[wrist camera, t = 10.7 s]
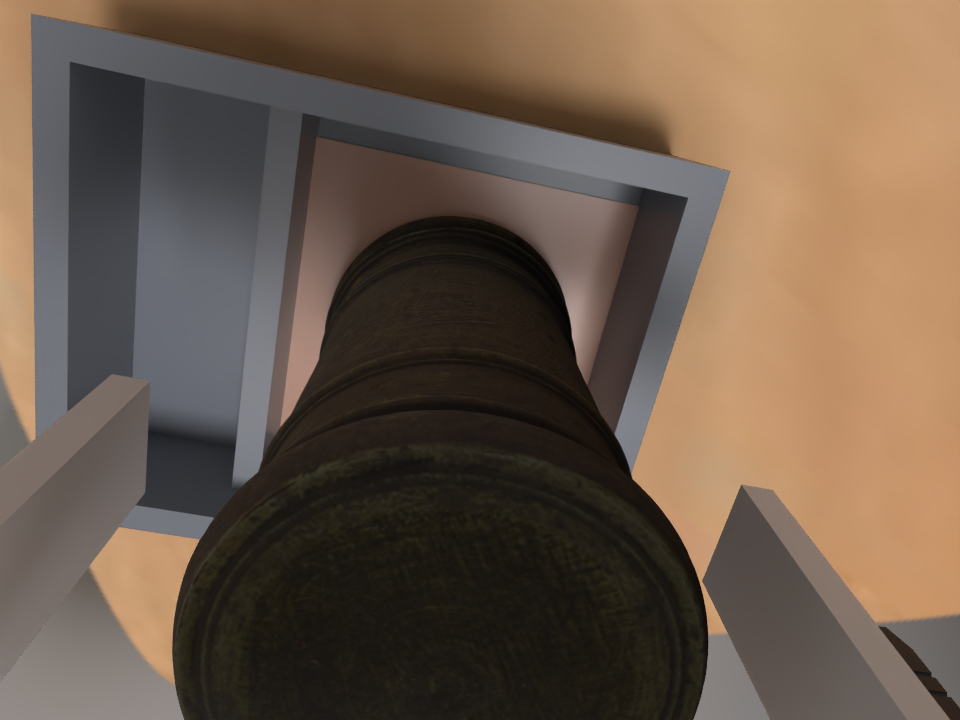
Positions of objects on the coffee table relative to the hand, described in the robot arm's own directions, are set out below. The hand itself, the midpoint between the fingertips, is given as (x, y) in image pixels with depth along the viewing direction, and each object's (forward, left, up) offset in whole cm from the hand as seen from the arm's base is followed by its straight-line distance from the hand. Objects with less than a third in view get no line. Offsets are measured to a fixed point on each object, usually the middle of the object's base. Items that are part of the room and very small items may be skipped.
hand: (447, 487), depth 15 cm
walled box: (0, -3, -14) cm, 14 cm away
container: (0, 0, -13) cm, 13 cm away
